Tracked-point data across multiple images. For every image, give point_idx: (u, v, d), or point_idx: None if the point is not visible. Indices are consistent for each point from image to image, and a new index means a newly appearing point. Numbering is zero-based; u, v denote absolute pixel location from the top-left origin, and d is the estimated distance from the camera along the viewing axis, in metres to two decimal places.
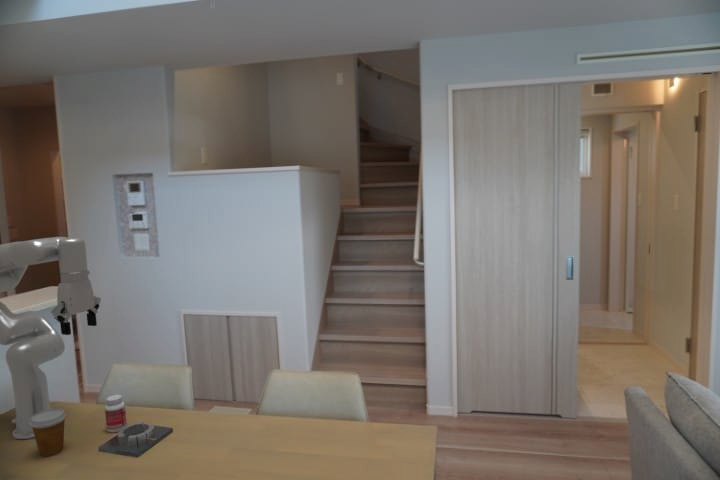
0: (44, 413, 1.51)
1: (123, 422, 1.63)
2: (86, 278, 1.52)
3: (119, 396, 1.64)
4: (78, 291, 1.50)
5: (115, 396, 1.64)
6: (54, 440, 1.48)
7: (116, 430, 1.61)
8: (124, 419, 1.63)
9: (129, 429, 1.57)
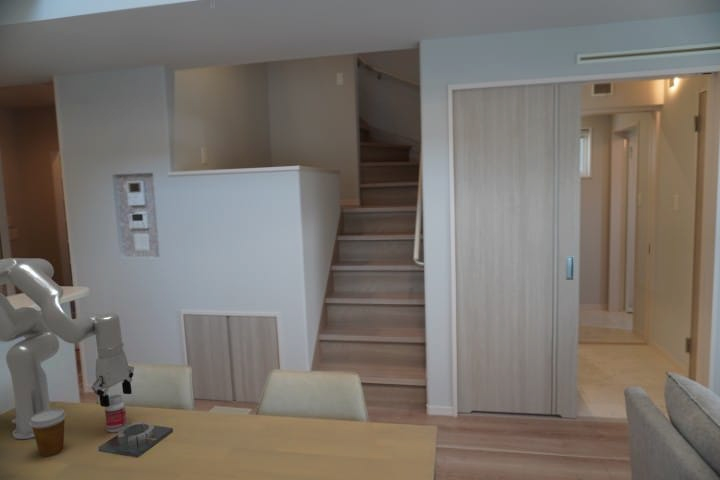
0: (44, 413, 1.51)
1: (123, 422, 1.63)
2: (121, 351, 1.61)
3: (119, 396, 1.64)
4: (114, 365, 1.60)
5: (115, 396, 1.64)
6: (54, 440, 1.48)
7: (116, 430, 1.61)
8: (124, 419, 1.63)
9: (129, 429, 1.57)
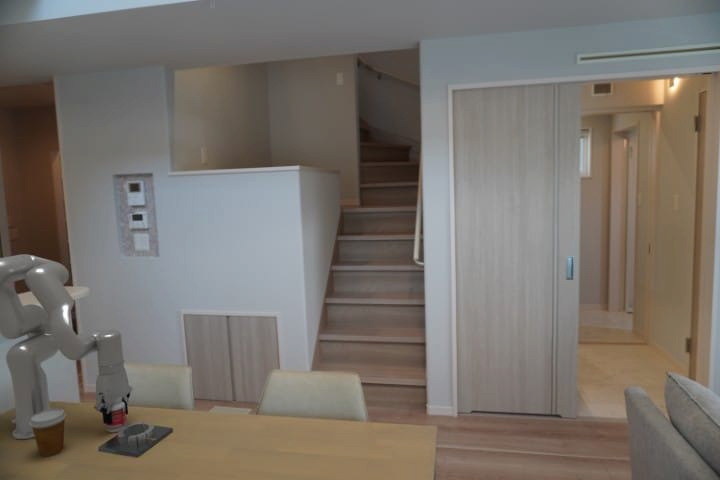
0: (44, 413, 1.51)
1: (123, 422, 1.63)
2: (122, 369, 1.62)
3: None
4: (115, 382, 1.60)
5: None
6: (54, 440, 1.48)
7: (116, 430, 1.61)
8: (124, 419, 1.63)
9: (129, 429, 1.57)
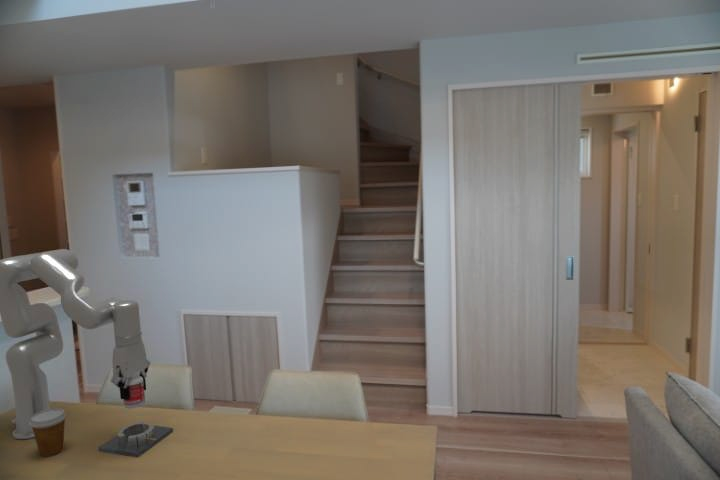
0: (44, 413, 1.51)
1: (141, 398, 1.53)
2: (140, 341, 1.52)
3: None
4: (133, 355, 1.50)
5: None
6: (54, 440, 1.48)
7: (134, 406, 1.51)
8: (142, 394, 1.53)
9: (129, 429, 1.57)
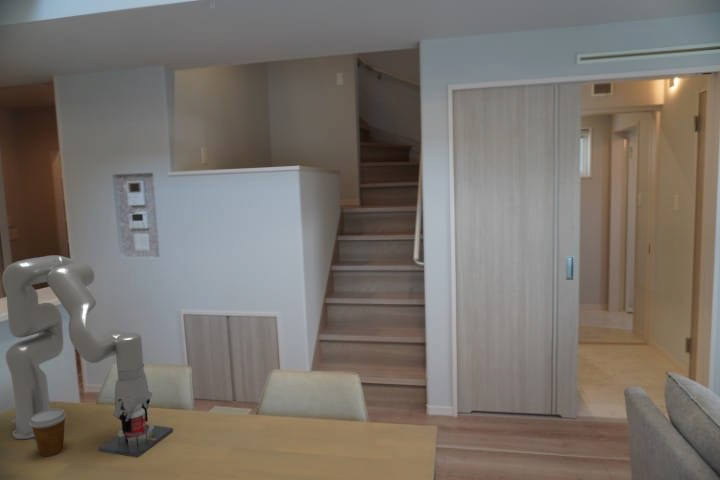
0: (44, 413, 1.51)
1: (143, 430, 1.54)
2: (142, 374, 1.53)
3: None
4: (135, 388, 1.51)
5: None
6: (54, 440, 1.48)
7: None
8: (144, 427, 1.55)
9: None
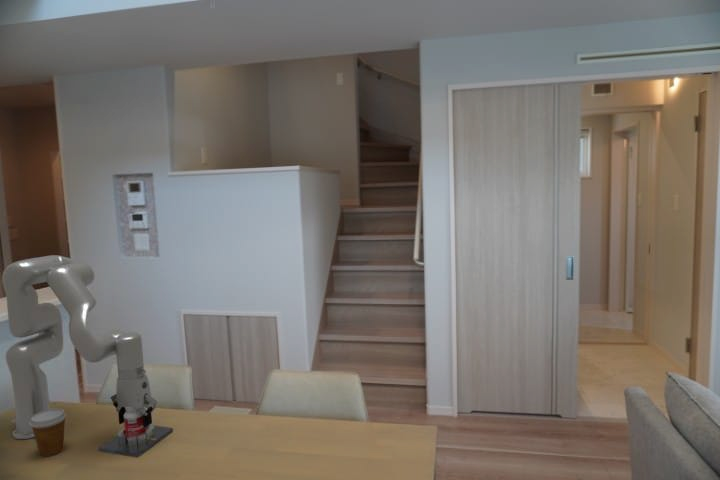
0: (44, 413, 1.51)
1: (128, 434, 1.52)
2: (125, 378, 1.49)
3: None
4: (123, 388, 1.51)
5: None
6: (54, 440, 1.48)
7: (125, 437, 1.54)
8: (129, 432, 1.52)
9: None
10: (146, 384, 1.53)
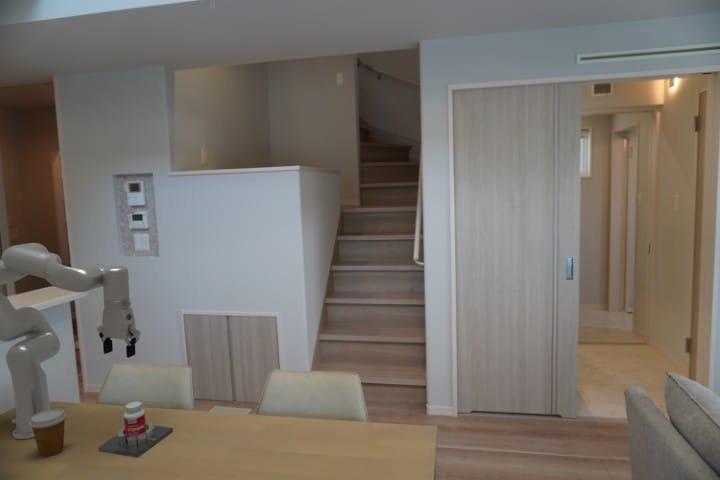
0: (44, 413, 1.51)
1: (128, 434, 1.52)
2: (111, 308, 1.54)
3: (133, 406, 1.53)
4: (108, 318, 1.56)
5: (136, 404, 1.54)
6: (54, 440, 1.48)
7: (125, 437, 1.54)
8: (129, 432, 1.52)
9: None
10: (131, 316, 1.58)
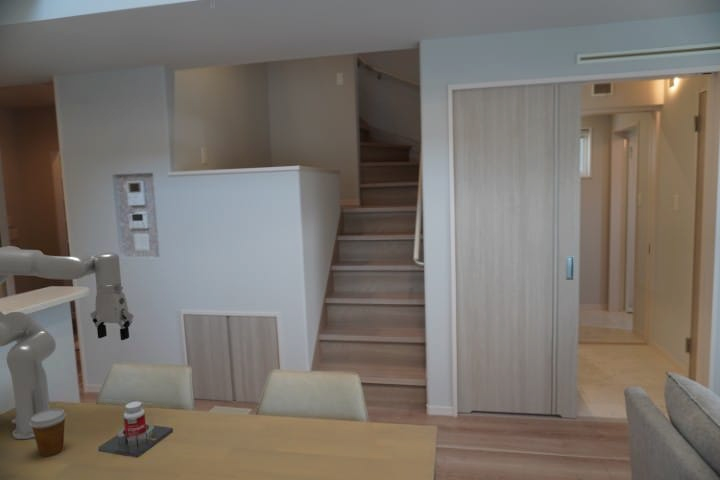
0: (44, 413, 1.51)
1: (128, 434, 1.52)
2: (103, 293, 1.60)
3: (133, 406, 1.53)
4: (101, 303, 1.62)
5: (136, 404, 1.54)
6: (54, 440, 1.48)
7: (125, 437, 1.54)
8: (129, 432, 1.52)
9: None
10: (123, 300, 1.63)
